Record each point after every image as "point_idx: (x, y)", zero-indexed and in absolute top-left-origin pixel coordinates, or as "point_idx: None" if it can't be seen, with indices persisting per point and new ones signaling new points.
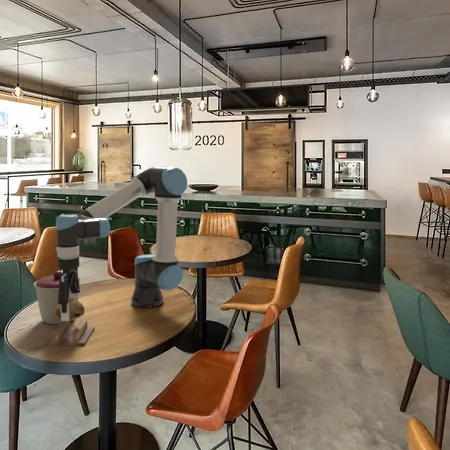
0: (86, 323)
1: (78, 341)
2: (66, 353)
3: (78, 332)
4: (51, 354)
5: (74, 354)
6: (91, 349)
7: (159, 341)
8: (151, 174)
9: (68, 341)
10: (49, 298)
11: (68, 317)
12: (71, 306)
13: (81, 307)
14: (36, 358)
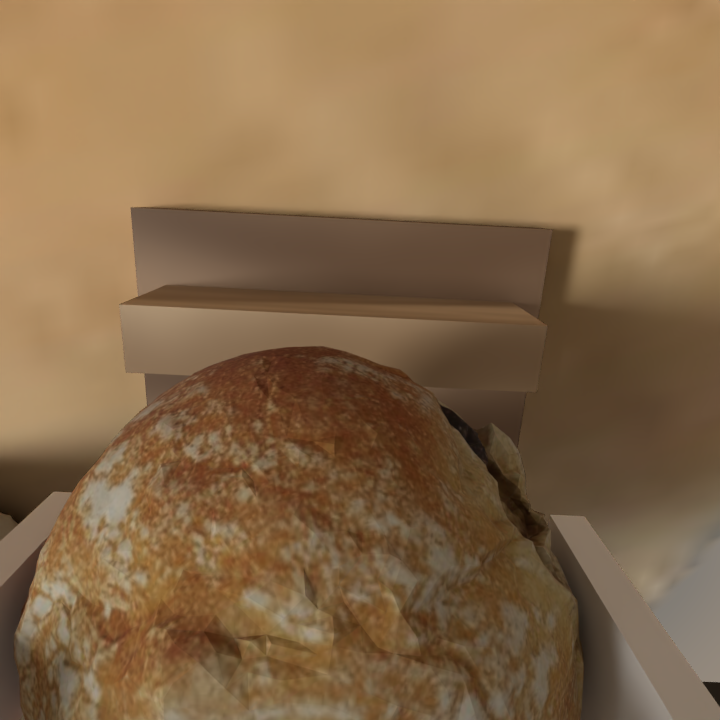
0: (171, 299)
1: (505, 301)
2: (674, 358)
3: (526, 323)
4: (661, 471)
5: (714, 282)
6: (645, 133)
7: None
8: None
9: (490, 397)
10: None
11: (610, 560)
12: (525, 695)
13: (372, 441)
14: (703, 553)
